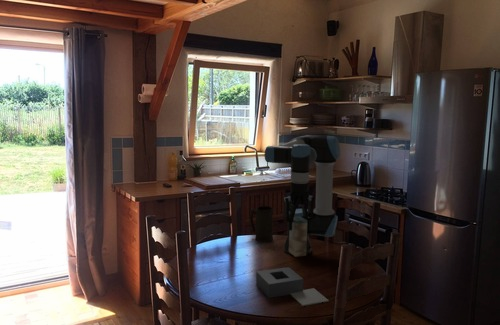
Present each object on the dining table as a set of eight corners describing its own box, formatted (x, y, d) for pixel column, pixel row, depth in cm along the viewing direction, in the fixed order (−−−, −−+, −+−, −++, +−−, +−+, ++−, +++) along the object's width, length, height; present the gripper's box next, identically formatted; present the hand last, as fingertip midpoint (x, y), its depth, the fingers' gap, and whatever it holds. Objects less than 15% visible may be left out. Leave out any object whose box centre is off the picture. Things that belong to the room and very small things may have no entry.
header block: (288, 279, 189) (288, 267, 188) (302, 292, 176) (303, 279, 175) (256, 284, 183) (256, 271, 183) (268, 297, 170) (269, 284, 170)
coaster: (313, 289, 179) (313, 288, 179) (328, 301, 168) (328, 300, 168) (289, 293, 175) (289, 292, 175) (302, 306, 164) (302, 304, 164)
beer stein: (276, 238, 248) (274, 205, 246) (271, 243, 238) (269, 209, 236) (252, 236, 254) (250, 205, 251) (246, 242, 244) (244, 209, 241)
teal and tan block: (299, 250, 176) (300, 216, 174) (306, 255, 170) (307, 220, 168) (288, 251, 174) (289, 217, 172) (295, 256, 168) (296, 221, 166)
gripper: (314, 179, 175) (312, 232, 177) (275, 181, 169) (274, 236, 172) (323, 182, 168) (321, 237, 170) (283, 184, 162) (281, 241, 165)
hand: (297, 236), depth 171 cm, fingers closed on teal and tan block, 5 cm apart
